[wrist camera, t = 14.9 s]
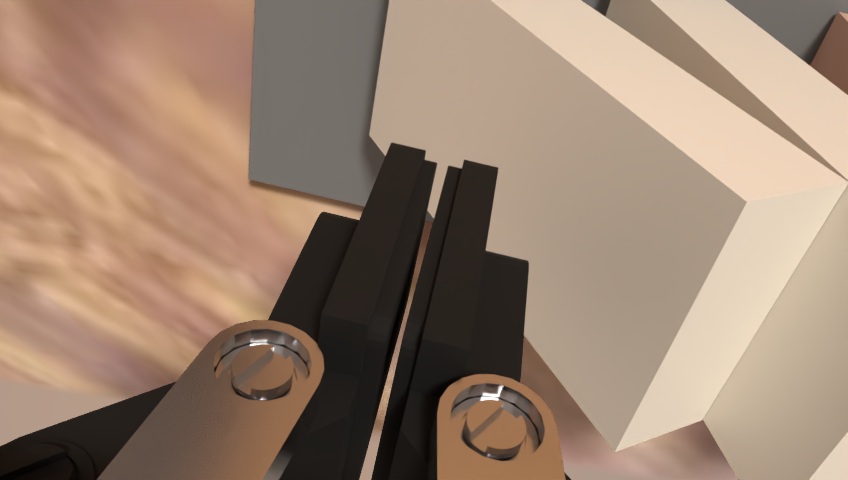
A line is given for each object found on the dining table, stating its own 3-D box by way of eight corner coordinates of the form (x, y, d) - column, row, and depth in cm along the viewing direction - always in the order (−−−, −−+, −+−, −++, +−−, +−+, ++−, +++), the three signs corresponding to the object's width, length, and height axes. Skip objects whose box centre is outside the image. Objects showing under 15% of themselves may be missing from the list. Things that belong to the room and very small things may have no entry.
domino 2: (555, 168, 19) (767, 529, 12) (620, -29, 16) (965, 287, 9) (625, 171, 20) (874, 519, 12) (701, -18, 17) (1094, 286, 9)
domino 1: (369, 134, 19) (614, 452, 12) (400, -72, 16) (746, 201, 9) (438, 128, 20) (702, 419, 13) (480, -69, 17) (849, 182, 10)
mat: (255, 168, 22) (248, 179, 22) (275, -280, 16) (266, -279, 15) (1136, 376, 22) (1149, 391, 21) (1546, 2, 15) (1578, 12, 14)
